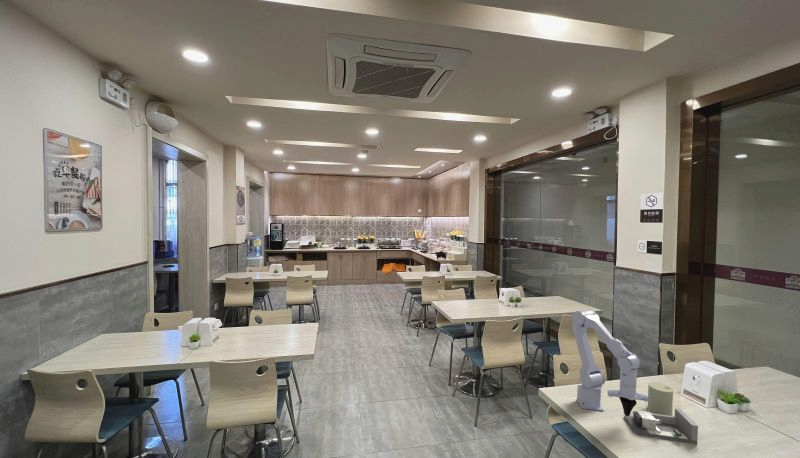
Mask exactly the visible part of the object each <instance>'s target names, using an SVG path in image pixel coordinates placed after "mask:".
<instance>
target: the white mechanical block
mask: <svg viewBox="0 0 800 458" xmlns="http://www.w3.org/2000/svg"><path fill="white" fill-rule="evenodd" d="M635 411H636V412H634V420H635V421H636V423H637V424H638V425H639V426H641V427H642V428H647V429H654V430H655V431H656V432H657V433H659V434H661V431H660V430H659V429H658V427H657V426H656V423H657V424H662V421H661V420H659V419H655V418H654V417H653V416H652V414H651V412H650V411H645V410H644V411H643V410H638V409H637V410H635Z"/></svg>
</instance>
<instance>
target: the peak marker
mask: <svg viewBox="0 0 800 458" xmlns="http://www.w3.org/2000/svg"><path fill="white" fill-rule="evenodd" d="M673 431H674V433H675V434H676V435H677V436H679V437H681V433H680V432H679V431H678V430H677V429H673Z"/></svg>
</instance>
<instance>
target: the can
mask: <svg viewBox="0 0 800 458" xmlns="http://www.w3.org/2000/svg"><path fill="white" fill-rule="evenodd" d="M647 385H648V389H647V390H648V391H647V397H648V402H647V406H646V409H647V410H648V412H650V413H653V414H660V415H668V416H674V415H673V402H674V401H673V399H674V389H673V388H672V387H671V386H670V385H667V384H664V383H662V382H656V381H650V382H649V383H647Z"/></svg>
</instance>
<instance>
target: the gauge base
mask: <svg viewBox="0 0 800 458" xmlns="http://www.w3.org/2000/svg"><path fill="white" fill-rule="evenodd" d="M634 412H636V410H632V415H630V416H626V415H625V414H623V418H624V420H625V421H626V423H627V425H628V426H629V427H630V428H631V429H632V431H633V432H634V434H635V435H636V436H642V437H647V438H648V437H650V438H655V439H663V440H669V441H676V442H682V443H689V444H693V445H697V444H698V438H699V437H698V435H699V434H698V433H699V425H698V424H696V423H695V422H694V421H693V420H692V419H691V417H690V416H688V415H687V414H686V413H685V412H684V410H683V409H681V408H674V415H673V416H668V415H660V414H653V413H651V412H650V413H651V414H652V416H653V417H654V418H655V419H659V420H661V421H662V424H657V423H656V426H657V427H658V429H659V430H660V431H661V434H659V433H657V432H656V431H655V430H654V429H647V428H642V427H641V426H639V425H638V424H637V423H636V421H635V420H634ZM673 429H677V430H678V431H679V432H680V433H681V437H679V436H677V435H676V434H675V433H674V431H673Z"/></svg>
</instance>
